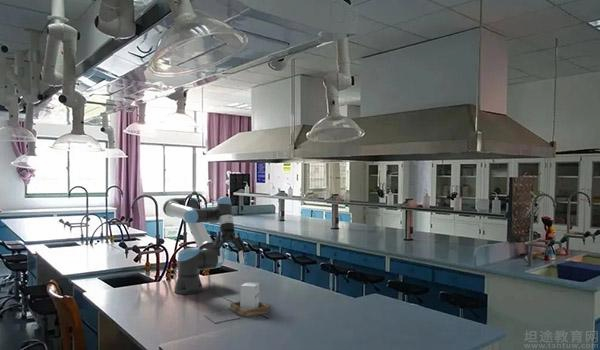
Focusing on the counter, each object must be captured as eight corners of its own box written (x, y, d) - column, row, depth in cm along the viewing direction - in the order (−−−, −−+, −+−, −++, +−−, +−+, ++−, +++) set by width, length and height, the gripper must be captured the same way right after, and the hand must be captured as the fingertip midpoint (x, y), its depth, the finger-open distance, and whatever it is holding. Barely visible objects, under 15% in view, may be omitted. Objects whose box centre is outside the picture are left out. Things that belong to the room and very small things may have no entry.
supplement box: (254, 313, 192) (254, 286, 192) (239, 312, 193) (239, 285, 194) (259, 308, 199) (259, 282, 199) (244, 307, 201) (245, 281, 201)
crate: (230, 308, 199) (230, 303, 199) (254, 304, 206) (254, 298, 206) (244, 317, 186) (244, 311, 186) (269, 312, 194) (269, 306, 194)
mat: (204, 315, 188) (204, 315, 188) (228, 311, 195) (228, 310, 195) (215, 323, 178) (215, 322, 178) (239, 318, 185) (240, 317, 185)
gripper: (211, 219, 211) (215, 259, 202) (249, 224, 229) (254, 261, 220) (203, 224, 216) (207, 264, 207) (241, 228, 233) (246, 265, 224)
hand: (231, 262), depth 213 cm, fingers open, 13 cm apart
